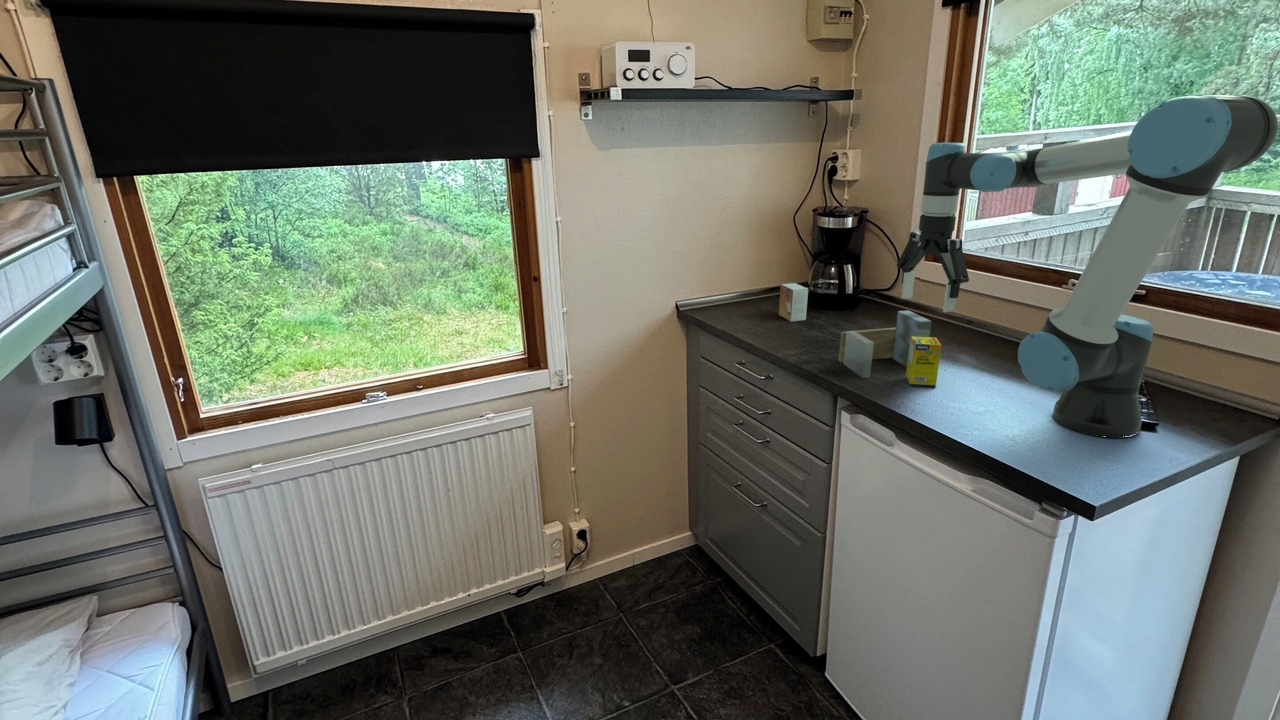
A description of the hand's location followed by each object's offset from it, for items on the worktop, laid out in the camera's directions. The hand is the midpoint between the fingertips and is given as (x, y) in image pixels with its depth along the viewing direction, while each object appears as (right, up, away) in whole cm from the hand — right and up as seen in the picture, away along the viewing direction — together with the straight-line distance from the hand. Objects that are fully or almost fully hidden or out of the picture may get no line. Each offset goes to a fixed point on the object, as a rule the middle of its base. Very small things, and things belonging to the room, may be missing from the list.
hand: (926, 304), depth 157 cm
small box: (-19, 0, +56) cm, 59 cm away
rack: (-5, -15, +13) cm, 20 cm away
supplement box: (-1, -19, +2) cm, 19 cm away
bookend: (-13, -16, +11) cm, 23 cm away
